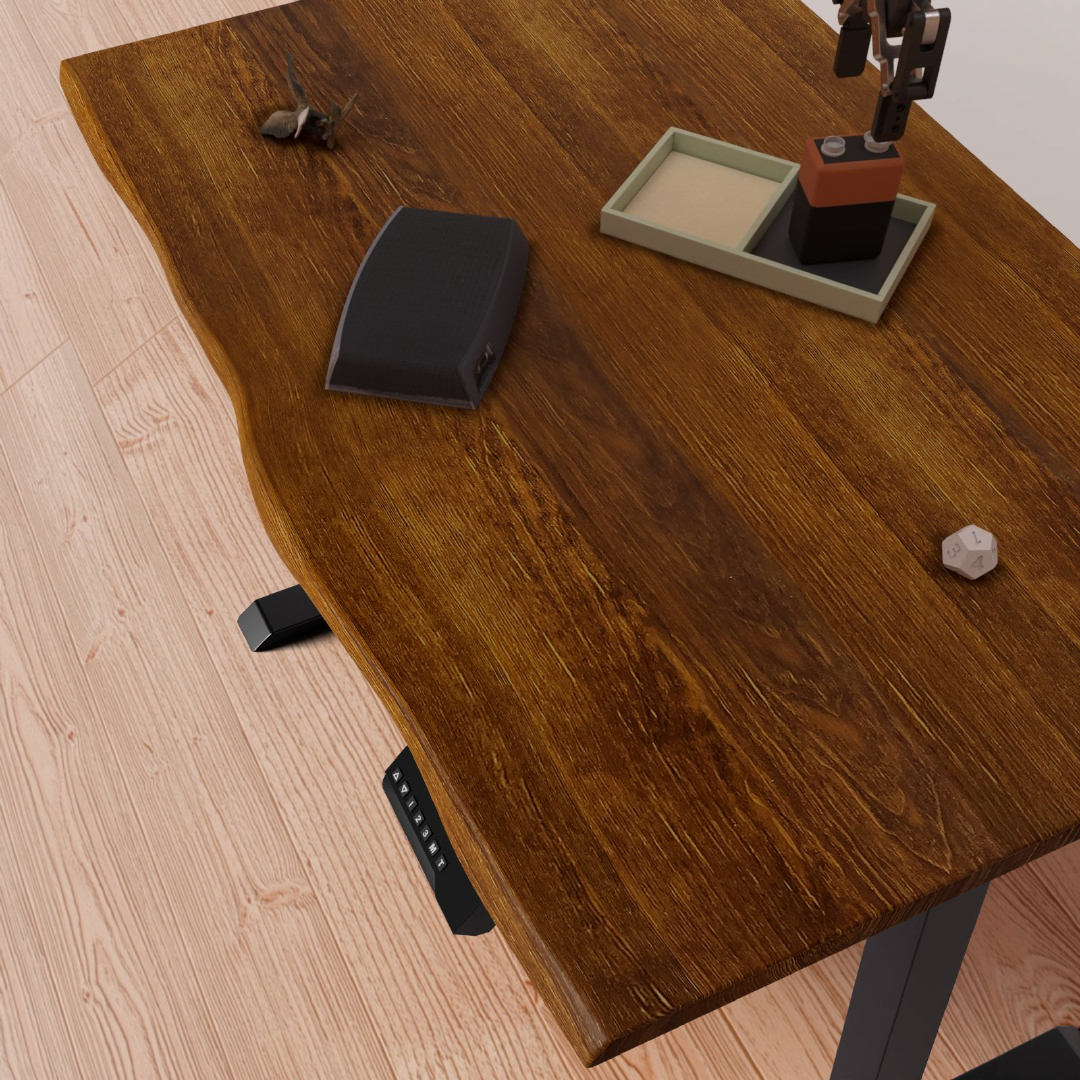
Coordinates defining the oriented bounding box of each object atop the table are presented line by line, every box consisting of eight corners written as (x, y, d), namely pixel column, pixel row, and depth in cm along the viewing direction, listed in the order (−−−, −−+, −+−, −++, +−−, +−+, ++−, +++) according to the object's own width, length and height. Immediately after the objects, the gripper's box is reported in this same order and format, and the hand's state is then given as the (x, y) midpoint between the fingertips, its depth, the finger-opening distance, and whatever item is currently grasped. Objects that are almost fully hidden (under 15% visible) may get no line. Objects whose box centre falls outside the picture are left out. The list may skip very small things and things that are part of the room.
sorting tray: (928, 232, 98) (937, 204, 95) (874, 329, 90) (882, 301, 88) (668, 153, 105) (671, 125, 103) (599, 237, 98) (600, 210, 95)
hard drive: (315, 393, 87) (305, 353, 84) (387, 232, 98) (381, 191, 95) (485, 417, 85) (482, 377, 82) (538, 251, 97) (538, 209, 93)
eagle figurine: (375, 114, 107) (302, 67, 109) (346, 77, 100) (268, 28, 102) (328, 183, 108) (256, 135, 110) (296, 151, 101) (220, 101, 103)
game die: (983, 543, 77) (997, 515, 75) (997, 589, 75) (1011, 561, 73) (930, 544, 77) (942, 516, 75) (942, 589, 75) (955, 562, 73)
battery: (881, 259, 94) (911, 151, 86) (799, 267, 93) (821, 159, 86) (865, 226, 97) (893, 117, 89) (785, 233, 96) (806, 125, 88)
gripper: (1022, -85, 68) (951, 156, 81) (934, -183, 77) (882, 49, 90) (898, -72, 68) (846, 169, 80) (824, -172, 76) (788, 59, 89)
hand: (865, 105), depth 85 cm, fingers open, 8 cm apart
